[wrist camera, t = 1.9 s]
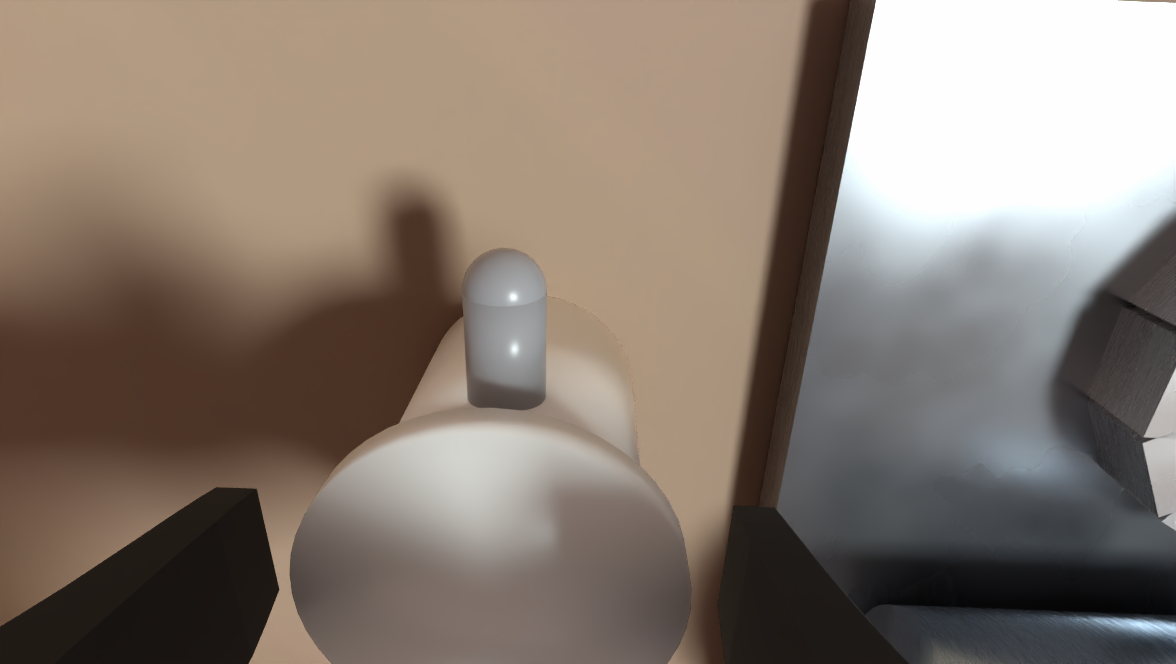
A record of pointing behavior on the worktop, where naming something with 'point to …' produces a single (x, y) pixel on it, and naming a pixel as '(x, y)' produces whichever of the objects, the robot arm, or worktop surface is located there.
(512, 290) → the white mushroom knob
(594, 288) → the worktop surface
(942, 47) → the motor mount
